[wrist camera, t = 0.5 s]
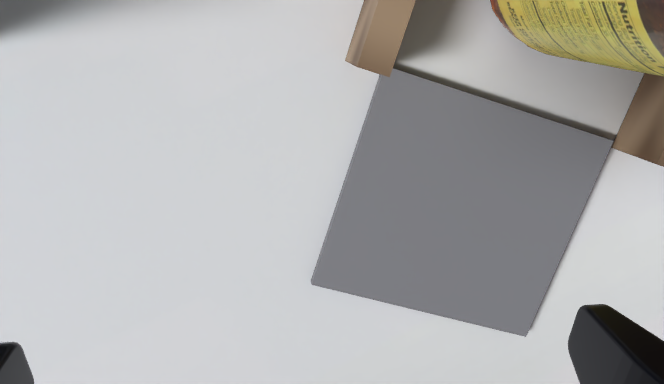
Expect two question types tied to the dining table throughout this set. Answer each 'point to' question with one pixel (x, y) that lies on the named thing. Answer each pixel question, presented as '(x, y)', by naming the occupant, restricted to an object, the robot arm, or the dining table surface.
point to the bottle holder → (386, 37)
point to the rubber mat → (457, 204)
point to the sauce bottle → (590, 30)
